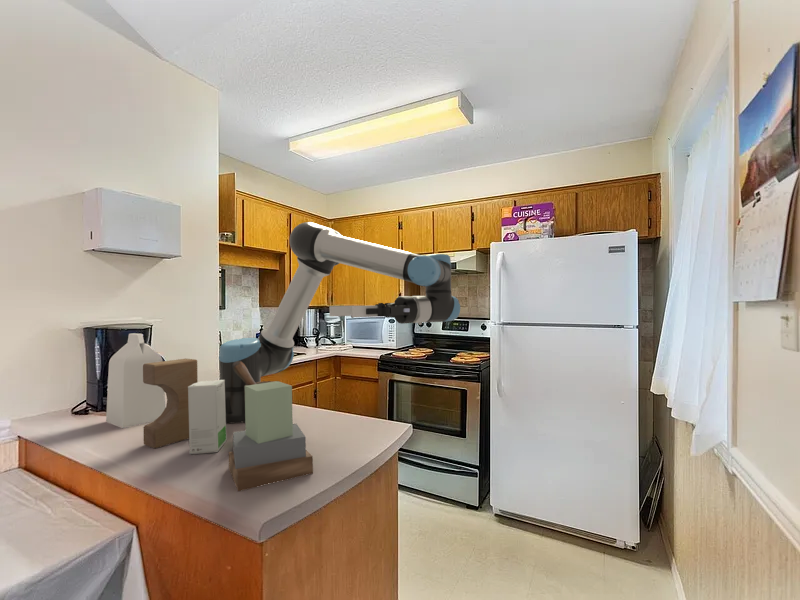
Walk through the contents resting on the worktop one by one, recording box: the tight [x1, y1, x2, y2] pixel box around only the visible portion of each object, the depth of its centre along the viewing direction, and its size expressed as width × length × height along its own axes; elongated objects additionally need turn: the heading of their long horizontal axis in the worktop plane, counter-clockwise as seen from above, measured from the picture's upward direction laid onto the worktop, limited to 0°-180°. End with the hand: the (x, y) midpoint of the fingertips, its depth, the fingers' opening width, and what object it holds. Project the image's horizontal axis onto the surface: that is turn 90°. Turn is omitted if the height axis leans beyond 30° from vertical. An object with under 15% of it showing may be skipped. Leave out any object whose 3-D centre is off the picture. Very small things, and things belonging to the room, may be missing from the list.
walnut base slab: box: [228, 449, 314, 492], centre depth 81 cm, size 12×14×4 cm
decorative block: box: [142, 358, 199, 449], centre depth 101 cm, size 11×6×20 cm, turn 145°
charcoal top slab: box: [232, 423, 307, 469], centre depth 81 cm, size 10×13×4 cm
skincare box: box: [188, 379, 227, 455], centre depth 95 cm, size 8×7×16 cm
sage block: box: [244, 380, 294, 444], centre depth 81 cm, size 7×7×10 cm
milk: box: [105, 333, 166, 429], centre depth 120 cm, size 12×12×26 cm
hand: (340, 311), depth 99 cm, fingers open, 13 cm apart
